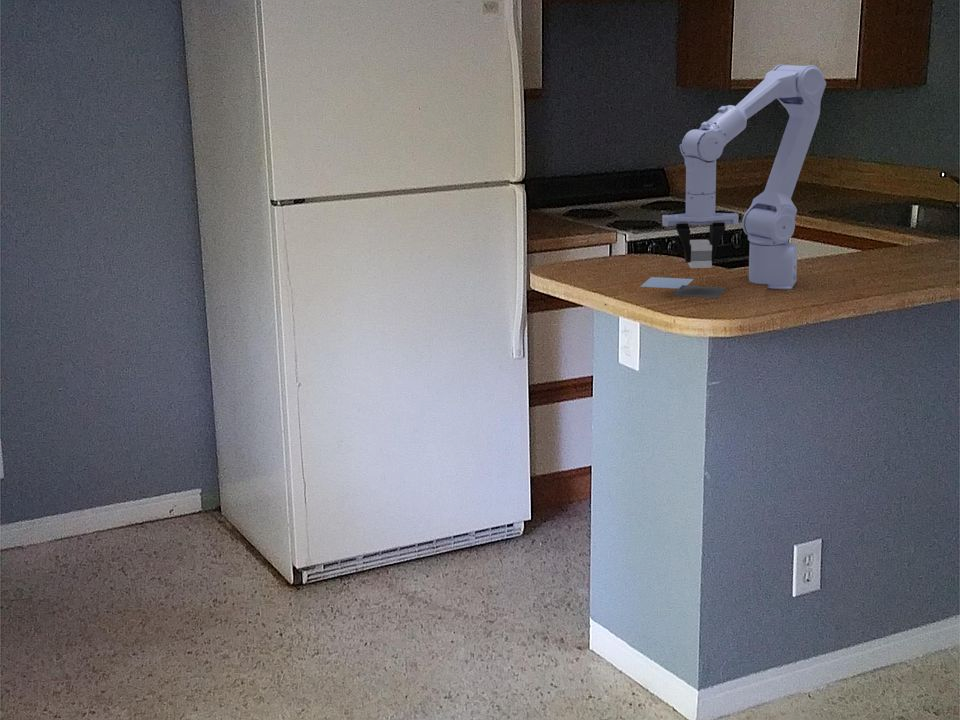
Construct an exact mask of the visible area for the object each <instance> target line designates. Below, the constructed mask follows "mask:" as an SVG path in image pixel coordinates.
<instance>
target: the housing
mask: <svg viewBox="0 0 960 720" xmlns="http://www.w3.org/2000/svg"><path fill="white" fill-rule="evenodd" d="M687 264H688V266H689V268H690V269H711V268H712V266H713V265H712V264H713V262H712V244H711V243H710V239H690V263H687Z"/></svg>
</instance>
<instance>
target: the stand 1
mask: <svg viewBox="0 0 960 720" xmlns="http://www.w3.org/2000/svg"><path fill="white" fill-rule="evenodd" d="M694 280H695V279H694V278H680V277H679V278H678V277H676V278H675V277H660V276H659V277H657V276H656V277H655V276H651V277H650V278H648V279H647V280H646V281H645V282H643V284H641V285H640V286H639V287H640V288H657V289H658V288H659V289H674V290H675V289H676V290H678V289H679V288H680V287H681V286H683V285H684V286H683V287H684V288H685V285H687V286H689V285H690V284H691V283H692V281H694ZM681 288H682V287H681Z"/></svg>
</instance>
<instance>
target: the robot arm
mask: <svg viewBox="0 0 960 720" xmlns="http://www.w3.org/2000/svg"><path fill="white" fill-rule="evenodd" d="M825 79H826V78H825V76H824V74H823V72H822V70H821V69H820V68H819V67H818V66H817V65H812V64H810V65H797V64H796V65H792V64H785V63H781V64H777V65H776V66H774V67H773V68H772V70H770V71H768V72H766V74H765V77H764V79H763V80H762V81H761V82H760V83H759V84H757V85H756V86H755V88H753V89H752V90H750V92H749V93H748V94H746V96H745V97H744V98H743V99H742V100H740V101H739V102H738V103H737V104H736V105H732V104H728V105H722V106H720V107H719V108H718V109H717V111H718V112H717V113H716V114H714V115H713V116H712V117H711V118H710V119H708V120H707V121H703V122H702V123H701V124H700V127H699V128H698V129H697V128H695V129H690V130H689V131H688V132H686V134H685V135H684V136H683V138H682V140H681V143H680V144H679V151H680V153H681V156H682V157H683V159H684V166H685V213H677V214H675V213H674V214H662V218H661V219H662V227H672V226H674V227H675V229H676V231H677V233H678V235H679V236H678V237H679V240H680V242H681V244H682V245H681V246H682V248H683V253H684V259H685V260H684V261H685V263H686V264H688V263H690V240H691V229H690V226H706V225H707V226H709V242H710V243H711V244H712V263H714V262H715V258H716V253H717V249H718V246H719V243H720V242H721V239H722V237H723V235H724V234H725V231H726V225H732V226H733V225H739V218H740V217H739V213H735V212H730V213H729V212H716V196H717V195H716V194H717V193H716V192H717V189H716V187H717V159H719V158H720V157H721V156H722V155H723V152H724V148H725V146H727V144H728V143H729V142H731V141H732V140H733V139H735V138H736V137H737V136H738V135H739V134H741V132H743V131H744V130H745V129H746V127H747V123H748V122H747V120H748V119H750V118H752V116H754V115H755V114H757V113H758V112H760V111H761V110H762V109H764V108H765V107H766V106H768V105H769V104H771V103H773V101H775V100H778V101H779V103H780V104H781V105H782V106H783V107H784V108H785V110H786V112H787V113H788V115H789V117H788V121H787V123H786V127H785V130H784V133H783V135H782V138H781V141H780V143H779V147H778V151H777V153H776V155H775V159H774V161H773V164H772V168H771V171H770V174H769V176H768V180H767V182H766V185H765V187H764V190H763V191H762V192H761V193H759V195H757V196H756V197H754V198H753V199H752V202H751V204H750V206H749V208H748V209H747V210H746V211H745V213H744V215H743V216H742V221H741V225H742V226H741V227H742V229H743V232H744V234H745V235H747V241H749V254H748V256H749V257H748V282H750V283H754V284H757V285H766V287H765V289H772V290H773V289H774V290H775V289H777V290H792V289H793V287H794V286H795V284H796V283H797V281H798V280H797V276H798V275H797V268H798V267H797V266H798V245H797V243H795V242H794V243H793V242H789V240H790V239H791V238H792V237H793V234H794V232H795V228H796V216H797V212H798V209H797V207H796V205H795V204H794V202H793V200H792V197H793V194H794V191H795V188H796V185H797V183H798V180H799V176H800V173H801V171H802V168H803V165H804V161H805V159H806V156H807V153H808V150H809V148H810V145H811V142H812V139H813V136H814V133H815V130H816V127H817V125H818V122H819V119H820V116H821V102H822V98H823V94H824V92H825V89H826V86H827V81H826V80H825Z"/></svg>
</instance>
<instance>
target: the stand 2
mask: <svg viewBox="0 0 960 720" xmlns="http://www.w3.org/2000/svg"><path fill="white" fill-rule="evenodd" d="M683 286H684V285H683ZM683 286H681V287H682V288H681V287H680V288H679V289H676V290H675V291H674V292H673V293H672V294H671V296H672V297H689V298H708V299H718V298H719V297H720V296H721V294H723V292H724V291H725V290H726V289H727V287H726V286H725V287H722V286H704V285H703V286H701V285H685V288H684V287H683Z"/></svg>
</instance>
